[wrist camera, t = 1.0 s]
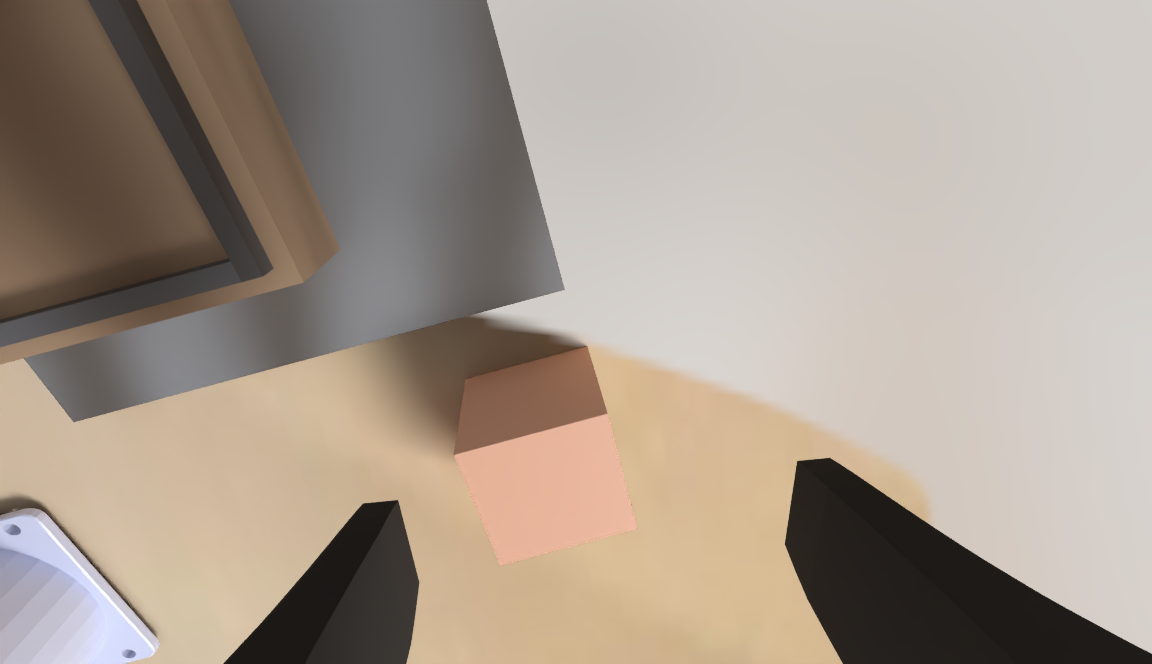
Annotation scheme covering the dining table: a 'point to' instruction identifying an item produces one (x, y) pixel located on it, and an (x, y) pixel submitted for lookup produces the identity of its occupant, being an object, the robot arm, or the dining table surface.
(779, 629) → the dining table surface
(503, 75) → the base
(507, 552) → the terracotta block
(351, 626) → the robot arm
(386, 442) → the dining table surface
